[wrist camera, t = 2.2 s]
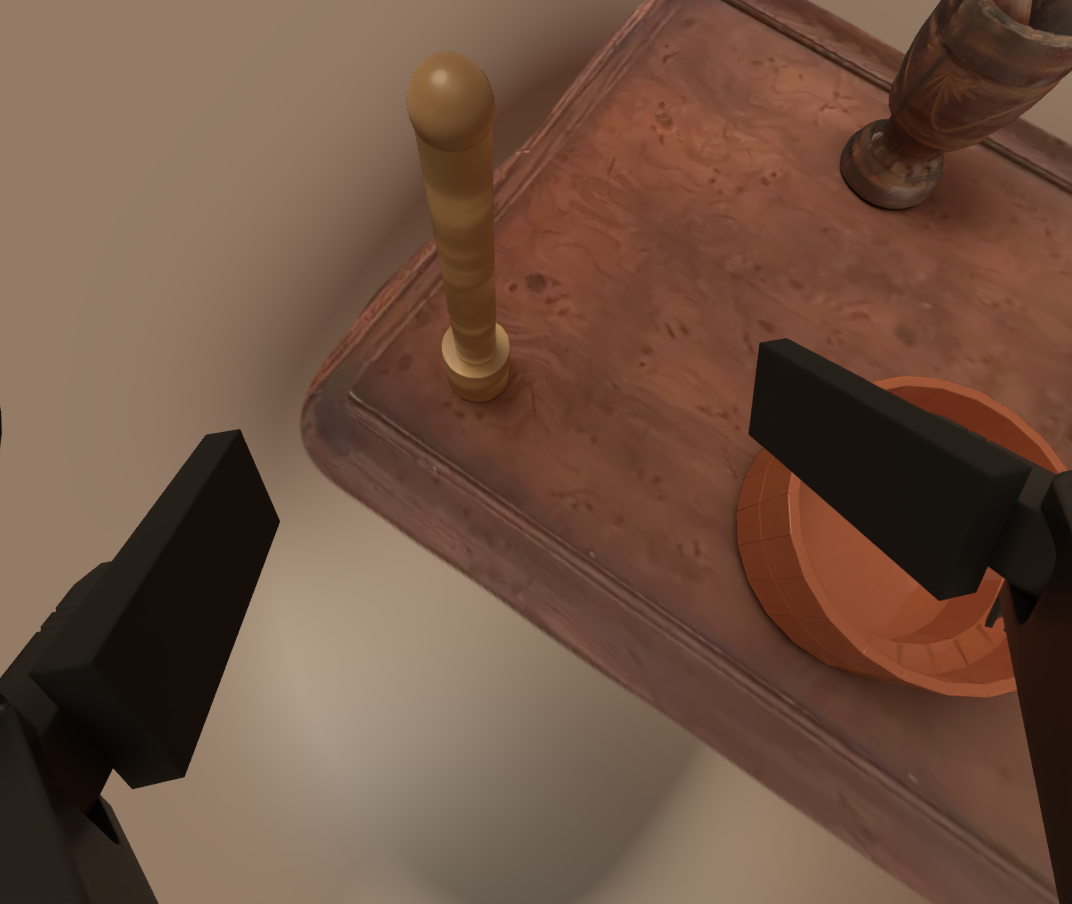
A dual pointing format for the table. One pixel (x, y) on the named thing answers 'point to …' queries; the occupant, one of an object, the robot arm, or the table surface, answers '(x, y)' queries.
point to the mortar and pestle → (958, 92)
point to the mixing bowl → (878, 569)
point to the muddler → (462, 214)
